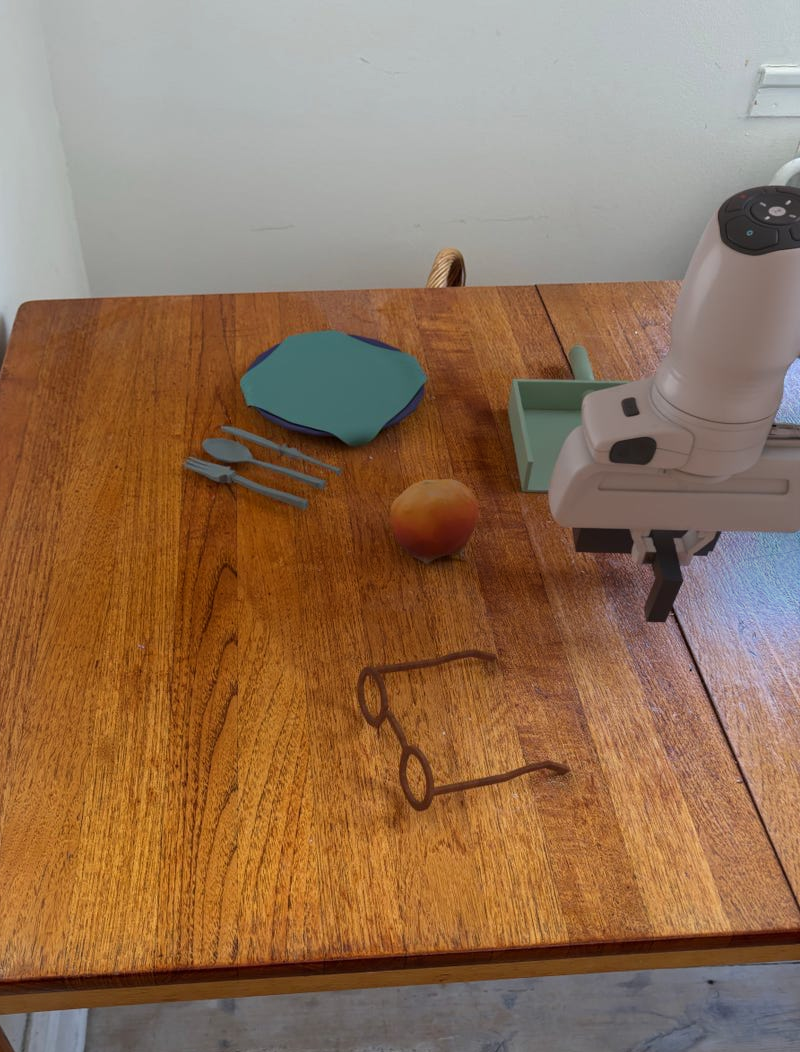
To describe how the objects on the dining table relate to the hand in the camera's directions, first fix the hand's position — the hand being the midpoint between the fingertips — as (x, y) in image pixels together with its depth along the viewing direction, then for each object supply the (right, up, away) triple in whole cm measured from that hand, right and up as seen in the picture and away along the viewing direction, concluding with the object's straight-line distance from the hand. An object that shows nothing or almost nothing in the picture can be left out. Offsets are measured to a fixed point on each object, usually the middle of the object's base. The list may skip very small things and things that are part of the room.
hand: (658, 560), depth 87 cm
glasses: (-17, -14, -3) cm, 23 cm away
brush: (0, -1, +4) cm, 4 cm away
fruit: (-18, +2, +12) cm, 22 cm away
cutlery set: (-29, +17, +26) cm, 43 cm away
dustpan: (+1, +17, +25) cm, 30 cm away
